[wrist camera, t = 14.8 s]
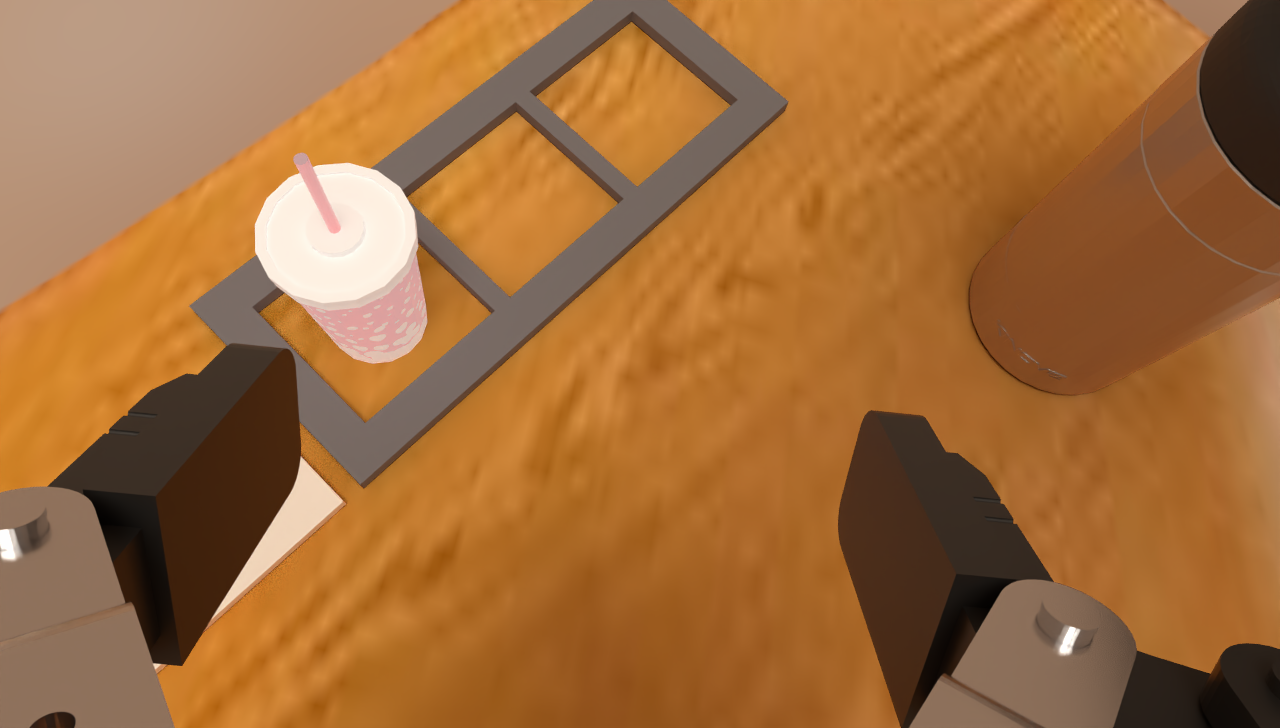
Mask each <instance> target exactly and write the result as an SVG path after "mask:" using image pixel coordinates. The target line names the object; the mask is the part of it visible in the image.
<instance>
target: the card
mask: <svg viewBox="0 0 1280 728" xmlns="http://www.w3.org/2000/svg"><path fill="white" fill-rule="evenodd" d="M345 505H346V503H345V502H344V501H343V500H342V499H341V498H340V497H339V496H338V495H337V493H336V492H335V491H334V490H333V489H332V488H331V487H330V486H329V485H328V484H327V483H326V482H325V481H324V480H323V479H322V478H321V477H320V476H319V474H318V473H317V472H316V471H315V470H314V469H313V468H312V467H311V466H310V465H309V464H308V463H307V462H306V461H305V460H304V459H303V458H302V457H301V459H300V466H299V471H298V475H297V479H296V482H295V485H294V487H293V489H292V491H291V493H290V495H289V496H288V498H287V499H286V501H285V503H284V504H283V506H282V507H281V509H280V510H279V512H278V514H277V515H276V517H275V518H274V520H273V522H272V523H271V525H270V526H269V528H268V530H267V531H266V533H265V534H264V536H263V538H262V539H261V541H260V542H259V544H258V546H257V547H256V549H255V550H254V552H253V554H252V555H251V557H250V558H249V560H248V562H247V563H246V565H245V566H244V568H243V570H242V571H241V573H240V574H239V576H238V577H237V579H236V581H235V582H234V584H233V585H232V587H231V589H230V590H229V592H228V593H227V595H226V597H225V598H224V600H223V601H222V603H221V605H220V606H219V608H218V609H217V611H216V613H215V614H214V616H213V617H212V619H211V621H210V622H209V624H208V625H207V627H206V629H207V628H209V627H210V626H211V625H212V624H213V623H214V622H215V621H216V620H217V619H219V618H220V617H221V616H222V615H223V614H224V613H225V612H226V611H228V610H229V609H230V608H231V607H232V606H233V605H234V604H235V603H236V602H238V601H239V600H240V599H241V598H242V597H243V596H244V595H245V594H246V593H248V592H249V591H250V590H251V589H252V588H253V587H254V586H255V585H257V584H258V583H259V582H260V581H261V580H262V579H263V578H264V577H265V576H267V575H268V574H269V573H270V572H271V571H272V570H273V569H274V568H275V567H277V566H278V565H279V564H280V563H281V562H282V561H283V560H284V559H286V558H287V557H288V556H289V555H290V554H291V553H292V552H293V551H294V550H296V549H297V548H298V547H299V546H300V545H301V544H302V543H303V542H304V541H306V540H307V539H308V538H309V537H310V536H311V535H312V534H313V533H314V532H316V531H317V530H318V529H319V528H320V527H321V526H322V525H323V524H325V523H326V522H327V521H328V520H329V519H330V518H331V517H332V516H333V515H335V514H336V513H337V512H338V511H339V510H340V509H341V508H342V507H343V506H345ZM206 629H205V630H206ZM205 630H204V631H205ZM153 665H154V668H155V671H156V674H157V673H158V672H160V671H161V670H162V669H163V668H164V667H165V666H166V664H154V663H153Z"/></svg>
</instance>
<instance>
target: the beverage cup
mask: <svg viewBox="0 0 1280 728" xmlns="http://www.w3.org/2000/svg"><path fill="white" fill-rule="evenodd" d="M294 162H295V164H296V166H297V168H298V170H299V172H300V173H299V174H296V175H294V176H292V177H289V178H288V179H287V180H286V181H285V182H284V183H283V184H282V185H281V186H279V187H278V188H277V189H276V190H275V191H274V192H273V193H272V194H271V195H270V196H269V197H268V198H267V199H266V201H265V204H264V206H263V208H262V210H261V212H260V215H259V217H258V219H257V221H256V223H255V252H256V254H257V256H258V258H259V260H260V262H261V264H262V266H263V268H264V270H265V271H266V273H267V275H268V277H269V279H270V280H271V281H272V282H274V284H275V285H276V286H277V287H278V288H279V289H281V290H282V291H283V292H285V293H286V294H287V295H289V296H290V297H291V298H293V299H294V300H295V301H297V302H298V303H300V304H301V305H302V306H303V307H304V308H305V309H306V311H307V312H308V313H309V314H310V315H311V316H312V317H313V318H314V320H315V321H316V322H317V323H318V324H319V325H320V326H321V327H322V329H323V330H324V331H325V332H326V333H327V334H328V335H329V336H330V337H331V339H332V340H333V341H334V342H335V343H336V344H337V345H338V346H339V348H341V349H342V350H343V351H345V352H346V353H347V354H348V355H350V356H351V357H352V358H354V359H357V360H361V361H365V362H368V363H372V364H373V363H382V362H391V361H393V360H395V359H397V358H399V357H401V356H403V355H405V354H407V353H409V352H410V351H411V350H412V349H413V348H414V347H415V345H416V344H417V343H418V342H419V341H420V340H421V339H422V336H423V333H424V330H425V327H426V325H427V313H426V304H425V298H424V293H423V288H422V282H421V277H420V272H419V266H418V261H417V256H416V251H417V249H418V238H417V225H416V219H415V213H414V210H413V208H412V206H411V205H410V203H409V201H408V200H407V198H406V196H405V194H404V193H403V191H402V189H401V188H400V187H399V186H398V185H397V184H395V183H394V182H392V181H391V180H390V179H388V178H387V177H385V176H384V175H383V174H381V173H380V172H378V171H377V170H373V169H369V168H365V167H362V166H358V165H354V164H350V163H342V164H329V165H317V166H315V167H312V165H311V163H310V160H309V158H308V156H307V155H306V154H304V153H298V154H296V155H295V156H294Z"/></svg>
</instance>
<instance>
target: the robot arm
mask: <svg viewBox="0 0 1280 728" xmlns="http://www.w3.org/2000/svg"><path fill="white" fill-rule="evenodd" d="M1278 298H1280V0H1249V1H1248V2H1247V3H1246V4H1245V5H1244V6H1243V7H1242V8H1240V9H1239V10H1238V11H1237V12H1236V13H1235V14H1234V15H1233V16H1232V17H1231V18H1230V19H1229V20H1228V21H1227V22H1226V23H1225V24H1224V25H1223V26H1222V27H1221V28H1220V29H1219V30H1218V31H1217V32H1216V33H1215V34H1214V35H1213V36H1212V37H1211V38H1210V39H1209V40H1208V41H1206V42H1205V43H1204V44H1203V45H1202V46H1201V47H1200V48H1199V49H1198V50H1197V51H1196V52H1195V53H1194V54H1193V55H1192V56H1191V57H1190V58H1189V59H1188V60H1187V61H1186V62H1185V63H1184V64H1183V65H1182V66H1181V67H1179V68H1178V69H1177V70H1176V71H1175V72H1174V73H1173V74H1172V75H1171V76H1170V77H1169V78H1168V79H1167V80H1166V81H1165V82H1164V83H1163V84H1162V85H1161V86H1160V87H1159V88H1158V89H1157V90H1156V91H1155V92H1154V93H1153V94H1152V95H1151V96H1150V97H1149V98H1148V99H1147V100H1146V101H1145V102H1144V103H1143V104H1142V105H1141V106H1140V107H1138V108H1137V109H1136V110H1135V111H1134V112H1133V113H1132V114H1131V115H1130V116H1129V117H1128V118H1127V119H1126V120H1125V121H1124V122H1123V123H1122V124H1121V125H1120V126H1119V127H1118V128H1117V129H1116V130H1115V131H1114V132H1112V133H1111V134H1110V135H1109V136H1108V137H1107V138H1106V139H1105V140H1104V141H1103V142H1102V143H1101V144H1100V145H1099V146H1098V147H1097V148H1096V149H1095V150H1094V151H1093V152H1092V153H1091V154H1090V155H1089V156H1087V157H1086V158H1085V159H1084V160H1083V161H1082V162H1081V163H1080V164H1079V165H1078V166H1077V167H1076V168H1075V169H1074V170H1073V171H1072V172H1071V173H1070V174H1069V175H1068V176H1067V177H1066V178H1065V179H1064V180H1063V181H1061V182H1060V183H1059V184H1058V185H1057V186H1056V187H1055V188H1054V189H1053V190H1052V191H1051V192H1050V193H1049V194H1048V195H1047V196H1046V197H1045V198H1044V199H1043V200H1042V201H1041V202H1040V203H1039V204H1038V205H1037V206H1035V207H1034V208H1033V209H1032V210H1031V211H1030V212H1029V213H1028V214H1027V215H1026V216H1025V217H1024V218H1022V219H1021V220H1020V221H1019V222H1018V223H1017V224H1016V225H1015V226H1014V227H1013V228H1012V229H1011V230H1010V231H1009V232H1008V233H1007V234H1006V235H1005V236H1004V237H1003V238H1002V239H1001V240H1000V241H999V242H998V243H997V244H996V245H995V246H993V247H992V248H991V249H990V251H989V252H988V253H987V254H986V255H985V256H984V257H983V258H982V259H981V261H980V262H979V264H978V266H977V268H976V270H975V272H974V274H973V278H972V282H971V286H970V310H971V314H972V319H973V323H974V325H975V328H976V330H977V332H978V335H979V337H980V339H981V341H982V342H983V344H984V345H985V347H986V348H987V350H988V351H989V353H990V354H991V356H992V357H993V358H994V359H995V360H996V361H997V362H998V363H999V364H1000V365H1001V366H1002V367H1003V368H1004V369H1005V370H1007V371H1008V372H1009V373H1011V374H1012V375H1014V376H1015V377H1016V378H1018V379H1019V380H1021V381H1023V382H1025V383H1027V384H1029V385H1031V386H1033V387H1035V388H1037V389H1040V390H1044V391H1048V392H1052V393H1055V394H1067V395H1078V394H1084V393H1090V392H1094V391H1097V390H1099V389H1101V388H1104V387H1106V386H1108V385H1110V384H1112V383H1114V382H1116V381H1118V380H1120V379H1122V378H1124V377H1126V376H1128V375H1130V374H1132V373H1134V372H1135V371H1137V370H1139V369H1141V368H1143V367H1145V366H1147V365H1150V364H1152V363H1154V362H1156V361H1158V360H1160V359H1162V358H1164V357H1166V356H1167V355H1169V354H1171V353H1173V352H1175V351H1177V350H1179V349H1181V348H1183V347H1185V346H1187V345H1189V344H1191V343H1193V342H1195V341H1197V340H1199V339H1201V338H1202V337H1204V336H1206V335H1208V334H1210V333H1212V332H1214V331H1216V330H1218V329H1220V328H1222V327H1224V326H1226V325H1228V324H1230V323H1232V322H1234V321H1236V320H1237V319H1239V318H1241V317H1243V316H1245V315H1247V314H1249V313H1251V312H1253V311H1255V310H1257V309H1259V308H1261V307H1263V306H1265V305H1267V304H1269V303H1271V302H1272V301H1274V300H1276V299H1278ZM300 459H301V438H300V422H299V407H298V392H297V376H296V364H295V359H294V356H293V354H292V352H291V351H290V350H289V349H287V348H277V347H267V346H258V345H248V344H238V343H231V344H229V345H228V346H226V347H225V348H224V349H223V350H222V351H221V352H220V353H219V354H218V355H217V356H216V357H215V358H214V359H213V360H212V361H211V362H210V363H209V364H208V365H207V366H206V367H205V368H204V369H203V370H202V371H201V372H200V373H199V374H198V375H194V374H185V375H183V376H180V377H178V378H176V379H174V380H172V381H170V382H168V383H165V384H163V385H161V386H159V387H157V388H155V389H153V390H151V391H150V392H149V393H147V394H146V395H145V396H144V397H143V398H142V399H141V400H140V401H139V402H138V403H137V404H136V405H135V406H133V407H132V408H131V409H130V410H129V411H128V416H123V417H122V418H121V419H119V420H118V421H117V422H116V423H115V424H114V425H113V426H112V427H111V428H110V429H109V434H105V433H104V434H103V435H102V436H101V437H100V438H99V439H98V440H97V441H96V442H95V443H94V444H93V445H91V446H90V447H89V448H88V449H87V450H86V451H85V452H84V453H83V454H82V455H81V456H80V457H79V458H77V459H76V460H75V461H74V462H73V463H72V464H71V465H70V466H69V467H68V468H67V469H66V470H65V471H63V472H62V473H61V474H60V475H59V476H58V477H57V478H56V479H55V480H54V481H53V482H52V483H51V484H49V485H48V486H47V487H30V488H21V489H15V490H10V491H5V492H1V493H0V728H175V727H174V724H173V721H172V718H171V715H170V712H169V709H168V706H167V703H166V701H165V698H164V695H163V692H162V689H161V686H160V683H159V680H158V677H157V674H156V671H155V668H154V665H153V663H154V664H166V665H178V666H182V665H183V664H184V662H185V660H186V659H187V657H188V656H189V654H190V652H191V651H192V649H193V648H194V646H195V645H196V643H197V641H198V640H199V638H200V637H201V635H202V633H203V632H204V630H205V629H206V627H207V625H208V624H209V622H210V621H211V619H212V617H213V616H214V614H215V613H216V611H217V609H218V608H219V606H220V605H221V603H222V601H223V600H224V598H225V597H226V595H227V593H228V592H229V590H230V589H231V587H232V585H233V584H234V582H235V581H236V579H237V577H238V576H239V574H240V573H241V571H242V570H243V568H244V566H245V565H246V563H247V562H248V560H249V558H250V557H251V555H252V554H253V552H254V550H255V549H256V547H257V546H258V544H259V542H260V541H261V539H262V538H263V536H264V534H265V533H266V531H267V530H268V528H269V526H270V525H271V523H272V522H273V520H274V518H275V517H276V515H277V514H278V512H279V510H280V509H281V507H282V506H283V504H284V503H285V501H286V499H287V498H288V496H289V495H290V493H291V491H292V489H293V487H294V485H295V482H296V479H297V475H298V471H299V466H300ZM1000 500H1001V499H1000V497H999V496H998V494H997V493H996V491H995V490H994V488H993V487H992V485H991V483H990V482H989V480H988V479H987V477H986V476H985V475H984V474H983V473H982V472H980V471H979V470H978V469H977V468H975V467H974V466H973V465H972V464H970V463H969V462H968V461H967V460H965V459H964V458H963V457H962V456H960V455H959V454H958V453H948V452H946V451H945V450H944V448H943V446H942V445H941V443H940V441H939V440H938V438H937V436H936V435H935V433H934V431H933V430H932V428H931V426H930V424H929V423H928V421H927V420H926V418H925V417H923V416H920V415H911V414H901V413H892V412H882V411H872V410H871V411H869V412H868V413H867V414H866V415H865V417H864V419H863V421H862V424H861V427H860V431H859V434H858V438H857V442H856V446H855V449H854V453H853V457H852V461H851V464H850V468H849V472H848V476H847V479H846V483H845V487H844V491H843V494H842V498H841V502H840V508H839V517H838V532H839V540H840V545H841V548H842V551H843V554H844V557H845V560H846V563H847V566H848V569H849V572H850V575H851V578H852V581H853V584H854V587H855V591H856V594H857V597H858V600H859V603H860V606H861V609H862V612H863V615H864V618H865V621H866V624H867V627H868V630H869V633H870V636H871V639H872V642H873V645H874V648H875V651H876V654H877V657H878V660H879V663H880V666H881V669H882V672H883V675H884V678H885V681H886V684H887V687H888V690H889V693H890V696H891V699H892V702H893V705H894V708H895V711H896V714H897V717H898V720H899V723H900V726H901V728H1280V649H1277V648H1274V647H1270V646H1265V645H1260V644H1249V643H1246V644H1237V645H1233V646H1230V647H1229V648H1227V649H1226V650H1225V651H1224V652H1223V653H1222V655H1221V656H1220V658H1219V660H1218V662H1217V664H1216V666H1215V667H1214V669H1213V671H1212V673H1211V674H1209V673H1206V672H1203V671H1200V670H1196V669H1193V668H1190V667H1187V666H1183V665H1180V664H1177V663H1174V662H1170V661H1167V660H1164V659H1161V658H1157V657H1154V656H1151V655H1148V654H1145V653H1142V652H1140V651H1137V648H1136V642H1135V640H1134V638H1133V635H1132V633H1131V632H1130V630H1129V629H1128V627H1127V626H1126V625H1125V624H1124V623H1123V621H1122V620H1121V619H1120V618H1119V617H1118V616H1117V615H1116V614H1114V613H1113V612H1112V611H1111V610H1110V609H1108V608H1107V607H1106V606H1104V605H1103V604H1102V603H1100V602H1099V601H1097V600H1095V599H1094V598H1092V597H1090V596H1088V595H1086V594H1084V593H1082V592H1080V591H1078V590H1076V589H1073V588H1071V587H1068V586H1065V585H1062V584H1059V583H1055V582H1054V581H1053V580H1052V578H1051V577H1050V575H1049V574H1048V572H1047V570H1046V569H1045V567H1044V566H1043V564H1042V563H1041V561H1040V560H1039V558H1038V556H1037V555H1036V553H1035V552H1034V550H1033V549H1032V547H1031V546H1030V544H1029V543H1028V541H1027V539H1026V538H1025V536H1024V535H1023V533H1022V532H1021V530H1020V529H1019V527H1018V525H1017V524H1013V518H1012V516H1011V515H1010V513H1009V511H1008V510H1007V508H1006V507H1005V505H1004V504H1000Z"/></svg>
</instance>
